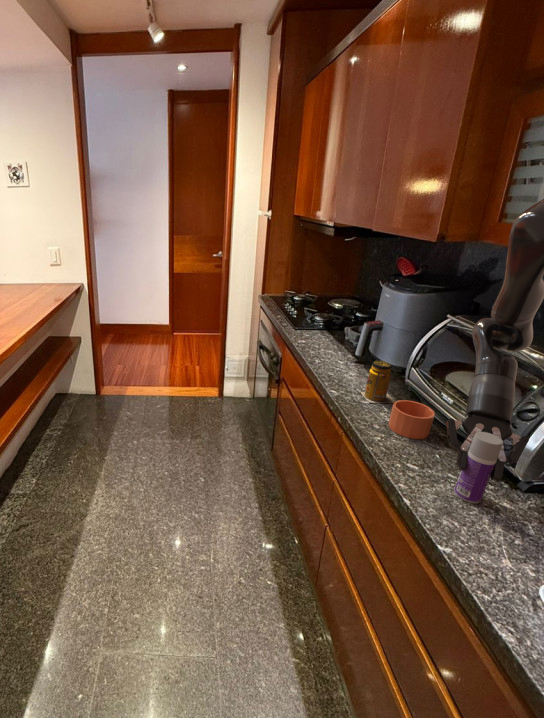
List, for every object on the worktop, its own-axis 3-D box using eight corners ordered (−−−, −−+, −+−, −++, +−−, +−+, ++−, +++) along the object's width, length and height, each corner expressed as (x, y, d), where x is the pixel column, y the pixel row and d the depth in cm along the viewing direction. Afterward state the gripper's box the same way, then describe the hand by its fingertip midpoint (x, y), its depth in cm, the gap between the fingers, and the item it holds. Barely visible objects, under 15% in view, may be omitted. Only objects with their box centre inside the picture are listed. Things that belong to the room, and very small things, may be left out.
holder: (423, 423, 110) (429, 403, 108) (433, 442, 102) (439, 421, 99) (385, 417, 113) (390, 398, 111) (392, 435, 105) (397, 414, 102)
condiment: (359, 392, 128) (366, 358, 123) (386, 392, 127) (394, 359, 122) (368, 403, 121) (376, 368, 116) (396, 404, 120) (405, 369, 116)
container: (484, 505, 81) (508, 446, 75) (458, 500, 83) (479, 442, 77) (475, 490, 85) (497, 433, 80) (450, 486, 87) (470, 429, 81)
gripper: (454, 385, 85) (439, 459, 80) (541, 403, 78) (530, 485, 73) (447, 396, 91) (433, 465, 86) (527, 414, 84) (516, 490, 79)
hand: (477, 474), depth 80 cm, fingers closed on container, 4 cm apart
